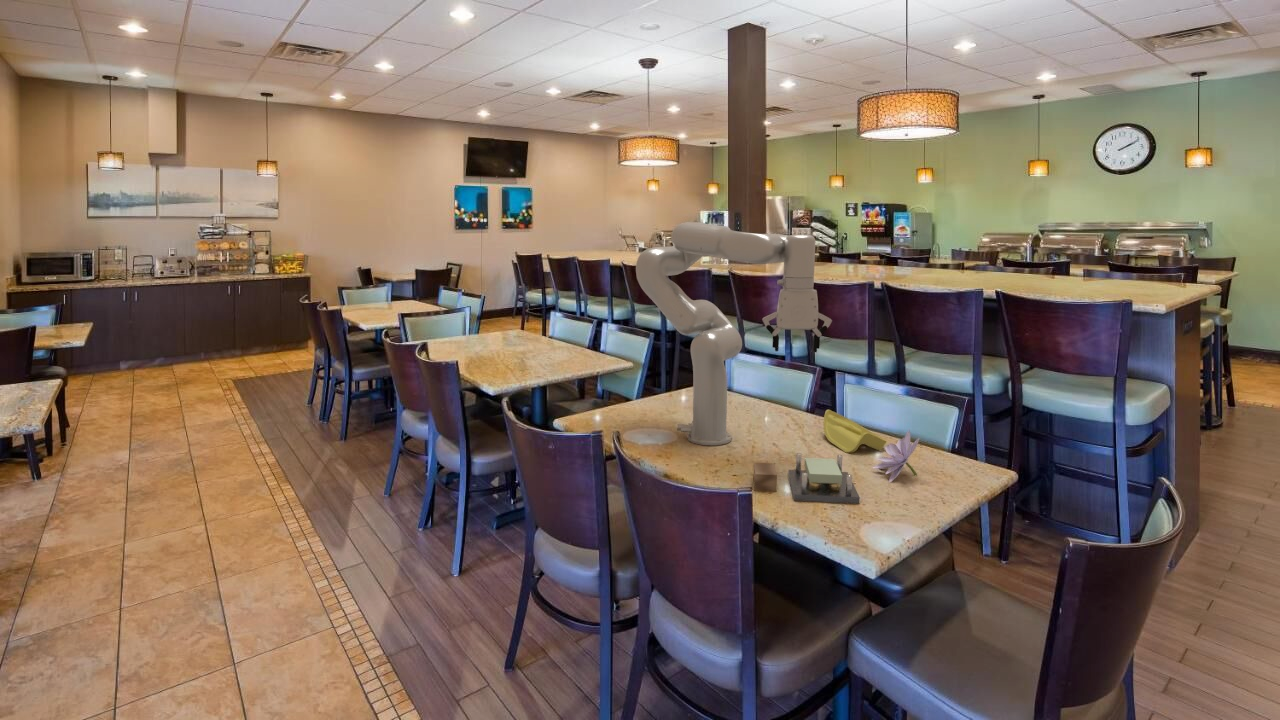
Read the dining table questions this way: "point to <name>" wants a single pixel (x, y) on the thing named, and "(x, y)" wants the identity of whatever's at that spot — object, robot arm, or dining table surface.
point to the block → (765, 477)
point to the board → (823, 470)
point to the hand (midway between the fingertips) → (795, 350)
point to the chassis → (822, 486)
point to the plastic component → (849, 433)
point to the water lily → (897, 456)
